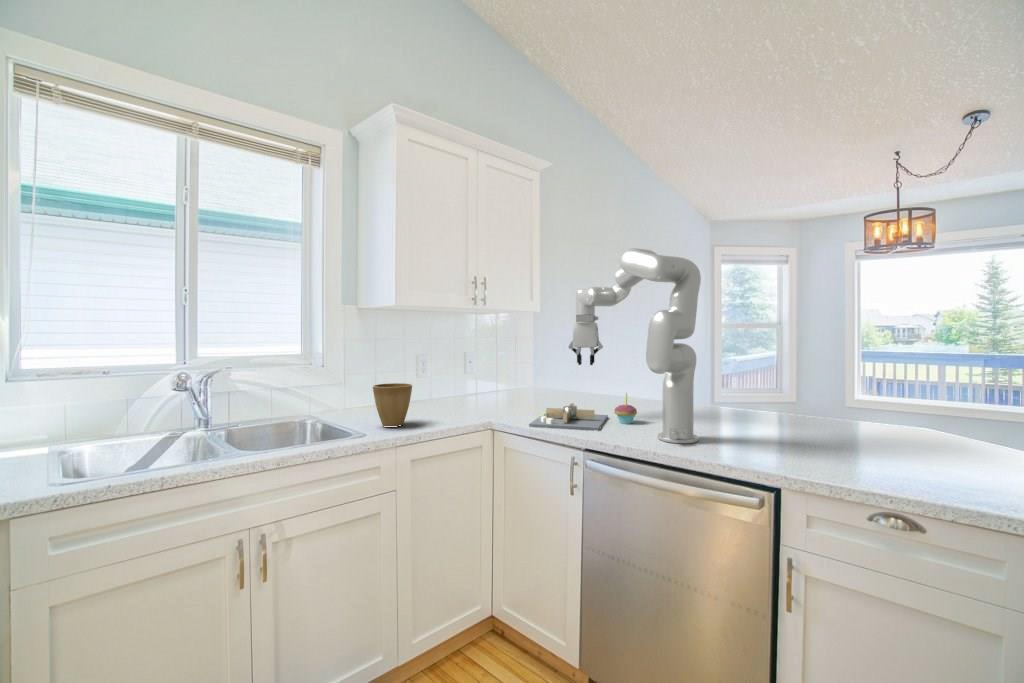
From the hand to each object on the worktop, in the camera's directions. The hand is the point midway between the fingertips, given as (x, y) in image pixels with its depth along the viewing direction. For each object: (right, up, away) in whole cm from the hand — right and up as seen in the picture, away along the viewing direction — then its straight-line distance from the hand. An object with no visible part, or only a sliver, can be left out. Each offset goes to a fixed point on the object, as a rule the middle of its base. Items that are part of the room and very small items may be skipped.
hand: (585, 364), depth 189 cm
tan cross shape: (-7, -21, -5) cm, 23 cm away
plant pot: (-76, -24, -8) cm, 80 cm away
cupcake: (+14, -23, -8) cm, 28 cm away
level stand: (-7, -23, -5) cm, 24 cm away
